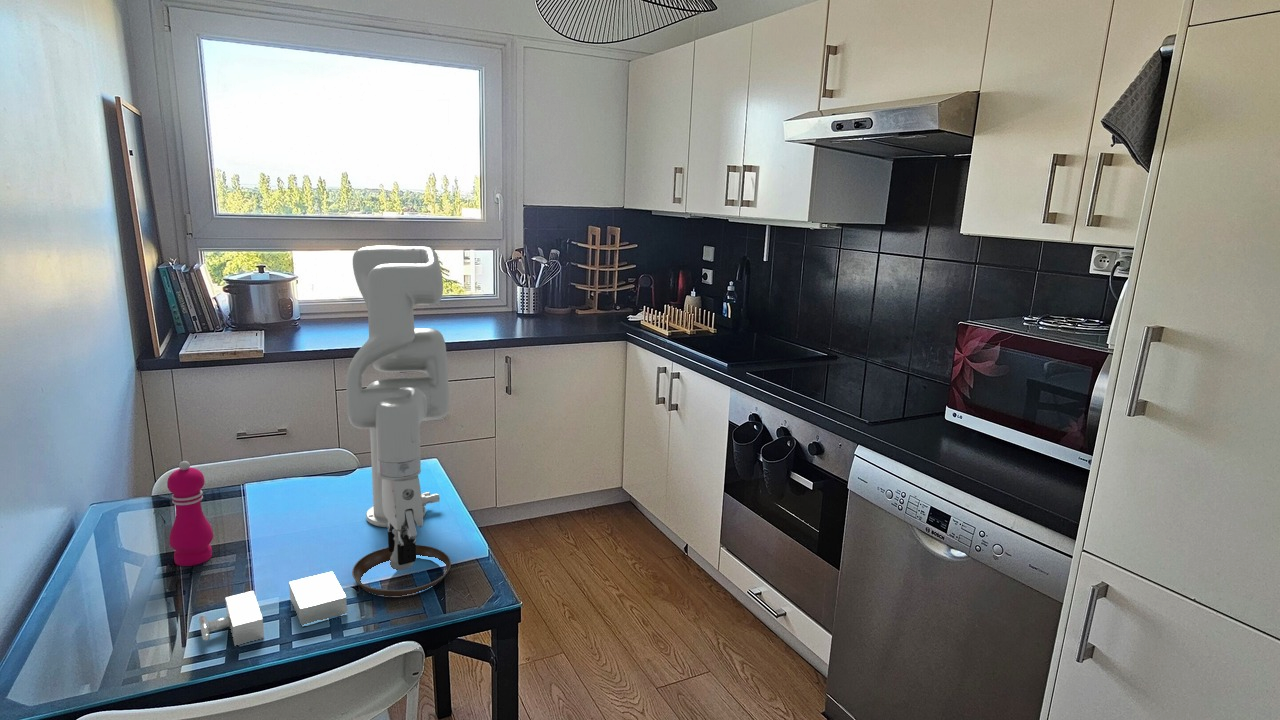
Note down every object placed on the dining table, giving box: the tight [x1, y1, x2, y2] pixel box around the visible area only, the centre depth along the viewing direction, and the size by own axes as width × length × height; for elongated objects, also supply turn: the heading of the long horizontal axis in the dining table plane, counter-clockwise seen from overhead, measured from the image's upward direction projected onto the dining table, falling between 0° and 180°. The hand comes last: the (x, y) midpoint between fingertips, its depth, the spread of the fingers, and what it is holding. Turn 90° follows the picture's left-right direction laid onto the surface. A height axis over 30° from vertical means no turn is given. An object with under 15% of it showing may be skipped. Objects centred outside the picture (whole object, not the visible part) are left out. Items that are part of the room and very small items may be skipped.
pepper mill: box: [166, 460, 214, 567], centre depth 139 cm, size 7×7×20 cm
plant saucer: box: [351, 544, 452, 596], centre depth 138 cm, size 18×18×3 cm
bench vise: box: [198, 571, 348, 647], centre depth 123 cm, size 21×10×4 cm, turn 125°
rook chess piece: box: [390, 524, 415, 571], centre depth 137 cm, size 4×4×8 cm
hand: (402, 555), depth 137 cm, fingers open, 5 cm apart
